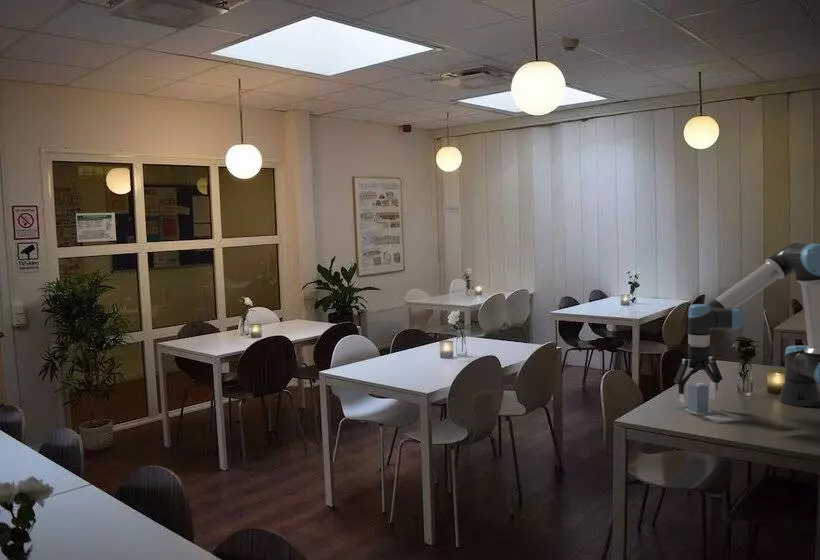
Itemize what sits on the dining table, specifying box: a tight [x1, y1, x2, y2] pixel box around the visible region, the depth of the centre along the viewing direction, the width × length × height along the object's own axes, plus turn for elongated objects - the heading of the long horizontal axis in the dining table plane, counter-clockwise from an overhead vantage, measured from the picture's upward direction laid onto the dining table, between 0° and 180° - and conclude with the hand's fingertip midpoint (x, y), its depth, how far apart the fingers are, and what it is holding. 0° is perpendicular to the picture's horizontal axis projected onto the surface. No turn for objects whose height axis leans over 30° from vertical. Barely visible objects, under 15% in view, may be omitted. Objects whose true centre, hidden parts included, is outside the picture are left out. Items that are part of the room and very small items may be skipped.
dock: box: [676, 405, 742, 425], centre depth 256 cm, size 16×22×2 cm
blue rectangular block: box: [687, 382, 709, 413], centre depth 260 cm, size 5×5×11 cm
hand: (698, 400), depth 261 cm, fingers open, 13 cm apart
